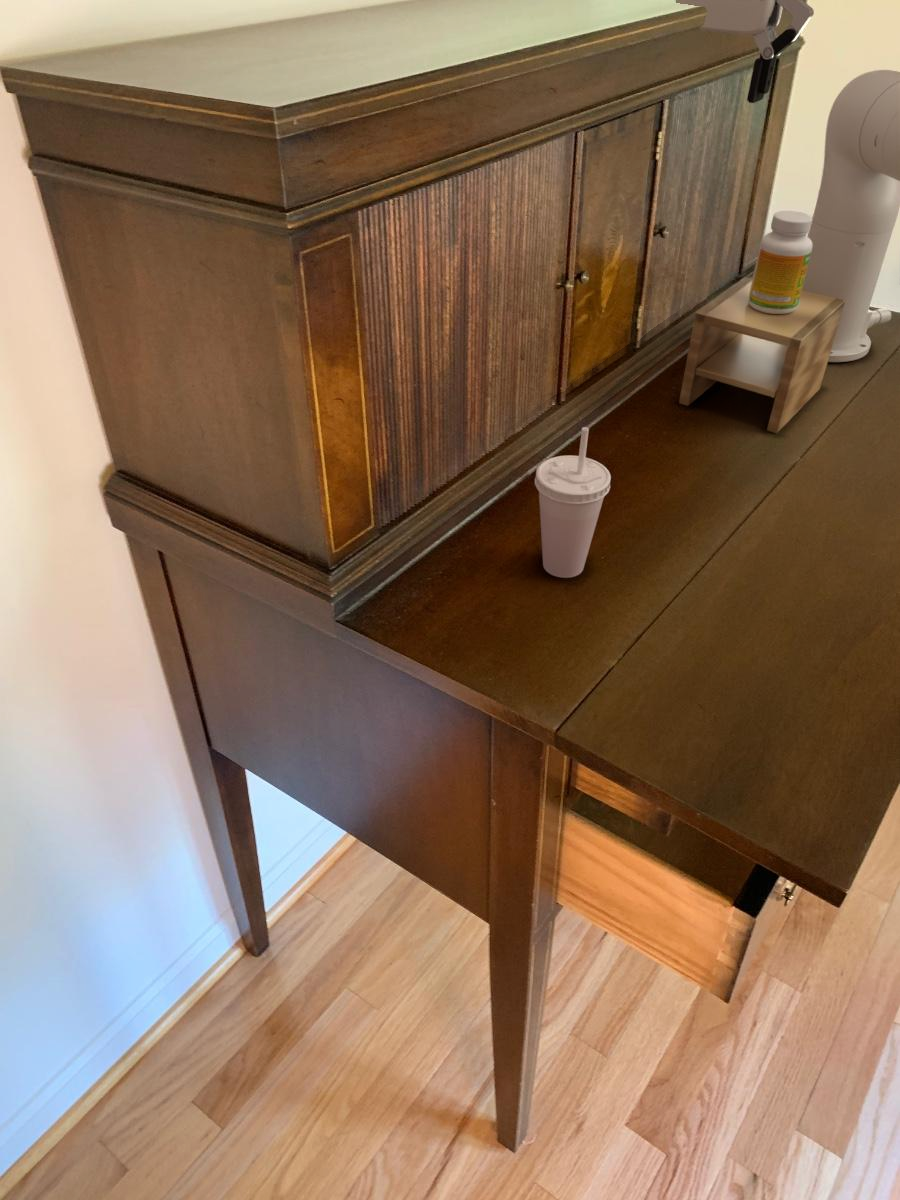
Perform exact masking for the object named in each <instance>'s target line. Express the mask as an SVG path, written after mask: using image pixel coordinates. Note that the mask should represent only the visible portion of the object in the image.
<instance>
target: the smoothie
mask: <svg viewBox="0 0 900 1200" xmlns="http://www.w3.org/2000/svg"><path fill="white" fill-rule="evenodd" d="M589 431H590V428H589V427H587V426H583V427H581V434H580V442H579V450H578V451H579V452H578V455H570V454H569V455H559V456H554V457H550V458H548V459H546V460H543V462H541V463H540V464H539V465H538V467H537V468H536V470H535V477H534V486H535V487H536V489H537V491H538V500H539V501H538V502H539V514H540V515H539V519H540V534H541V535H540V536H541V537H540V539H541V553H542V554H541V555H542V567H543V569H544V570H545V571H546V572H547V573H548V574H549V575H551V576H552V577H553V576H554V577H558V578H562V579H563V578H564V579H568V578H569V579H571V578H574V577H577V576H579V575H581V574H582V572H583V571H584V569H585V564H586V562H587V557H588V555H589V552H590V551H589V550H590V548H591V543H592V540H593V537H594V534H595V530H596V527H597V523H598V520H599V516H600V512H601V509H602V507H603V506H602V505H603V501H604V499H605V496H607V494H609V492H610V489H611V479H612V476H611V473H610V471H609V469H607V467H606V466H605V465H604V464H602V463H600V462H599V461H597V460H594V459H592V458H589V457H587V447H588V440H589V439H588V438H589Z"/></svg>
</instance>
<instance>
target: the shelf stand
mask: <svg viewBox="0 0 900 1200" xmlns="http://www.w3.org/2000/svg"><path fill="white" fill-rule="evenodd" d="M752 279H753V277H747V276H745V277H744V278H742V279H741V280H740V281H738V282H737V283H734V285H732V286H730V288H728V289H726V290H725V291H723V293H721V294H720V295H718V296H717V297H715V298H714V299H713V300H711V301H710V302H709V303H707V304H705V305H704V306H703V307H702V308H700V309H698V310H697V311H695V313H694V314H695V315H694V319H693V325H692V330H691V335H690V342H689V346H688V352H687V356H686V362H685V368H684V374H683V378H682V385H681V390H680V395H679V400H678V404H681V405H683V406H687V407H689V406H690V405H691V404H692V403H693V402H695V401H696V400H697V399H698V398H700V396H701V395H703V394H705V392H706V391H708V389H710V388H711V387H712V386H713V385H714V384H716V383H717V382H719V383H723V384H726V385H730V386H732V387H736V388H740V389H743V390H746V391H749V392H752V393H753V392H754V393H757V394H759V395H763V396H767V397H769V398H773V399H774V401H773V405H772V409H771V412H770V416H769V420H768V424H767V428H766V431H767V432H770V433H773V434H779V432H781V430H782V429H783V428H784V427H785V426H786V425H787V424H788V423H789V422H790V420H791V419H792V418H794V416H796V414H797V413H798V412H799V411H800V410H801V409H802V408H803V407H804V406H805V405H806V404H807V403H808V402H809V401H810V400H811V398H813V397H814V396H815V395H816V393H818V392H819V391H820V390H821V387H822V383H823V379H824V376H825V373H826V370H827V366H828V363H829V362H828V359H829V356H830V352H831V349H832V345H833V342H834V338H835V335H836V331H837V328H838V324H839V321H840V318H841V314H842V311H843V307H844V304H845V300H841V299H837V298H833V297H829V296H824V295H820V294H816V293H812V292H807V291H803V290H802V291H801V295H800V299H799V303H798V306H797V308H796V310H795V311H793V312H791V313H786V314H769V313H764V312H761V311H758V310H756V309H754V308H752V307H751V306H750V305H749V303H748V298H749V293H750V288H751V283H752Z"/></svg>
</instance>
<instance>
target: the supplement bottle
mask: <svg viewBox="0 0 900 1200" xmlns="http://www.w3.org/2000/svg"><path fill="white" fill-rule="evenodd" d="M771 219H772V220H771V223H770V230H772V231H770V232H768V233H766V234H765V235H764V236H762V238H761V241H760V244H759V247H758V252H757V257H756V260H755V266H754V271H753V274H752V278H753V279H752V283H751V288H750V293H749V298H748V303H749V305H750V306H751V307H752V308H754V309H756V310H758V311H761V312H764V313H769V314H786V313H791V312H793V311H795V310H796V308H797V306H798V303H799V299H800V295H801V291H802V287H803V283H804V279H805V275H806V271H807V267H808V263H809V259H810V255H811V252H812V246H813V245H812V241H811V239H810V238H808V237H807V236H808V233H809V231H810V228H811V224H812V216H811V215H810V214H808V213H805V212H801V211H794V210H780V211H776V212H775V213H773V216H772V218H771Z"/></svg>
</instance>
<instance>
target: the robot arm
mask: <svg viewBox="0 0 900 1200" xmlns="http://www.w3.org/2000/svg"><path fill="white" fill-rule="evenodd" d="M675 2H676V3H680V4H688V5H694V6H703V7H705V8H706V10H707V14H706V18H705V22H704V25H703V26H701V27H700V30H699V31H704V32H715V33H722V34H731V35H732V34H733V35H742V36H752V37H753V39H754V42H755V44H756V46H757V48H758V51H759V57H758V58H756V59H755V60H754V63H753V68H752V73H751V78H750V83H749V87H748V88H749V89H748V91H747V92H748V93H747V98H746V101H747V102H748V103H749V104H755V103H758V102H759V101H761V100H763V99H764V96H765V95H767V94H768V93H769V91H770V88H771V85H772V80H773V75H774V70H775V66H776V60H777V57H779V56H780V55H782V53H783V52H784V51H785V50H786V49H787V48H788V47H789V46H791V45H793V43H795V42H796V41H797V40H798V39H799V37H800V35H801V33H802V32H803V30H804V29H805V28H806V26H807V25H808V24H809V22H810V21H811V19H812V18H813V16H814V14H815V11H814V8H813V7H812V6H810V5H809V4H808V3H807V2H805V0H675ZM784 10H785V11H786V12H787V13H789V14H790V16H791V21H790V23H789V24H788V26H787V28H786V29H785V30H784V31H783V32H781V33H780V34H779V35H778V33H777V31H776V29H775V28H776V27H778V26H779V23H780V21H781V18H782V14H783V11H784ZM828 113H829V114H828V117H827V122H826V125H825V126H826V127H825V134H824V148H823V161H822V168H821V169H822V170H821V176H820V181H819V186H818V191H817V196H816V200H815V204H814V208H813V212H812V216H811V217H812V224H811V228H810V231H809V233H808V234H807V235H806V236H807V237H808V238H810V239H811V241H812V245H813V246H812V252H811V255H810V259H809V263H808V267H807V271H806V275H805V279H804V283H803V287H802V290H803V291H807V292H812V293H816V294H820V295H824V296H829V297H833V298H837V299H841V300H845V304H844V307H843V311H842V314H841V318H840V321H839V324H838V328H837V331H836V335H835V338H834V342H833V345H832V349H831V352H830V356H829V359H828V362H827V363H846V362H852V361H853V362H854V361H856V360H859V359H861V358H864V357H865V356H866V355H868V353H869V351H870V348H871V345H872V341H871V338H870V336H869V335H868V334H867V332H868V329H871V328H872V327H873V326H877V325H882V324H886V323H889V322H890V321H891V319H892V312H891V310H890V309H889V308H887V307H883V308H880V309H879V308H878V309H874V310H870V305H871V302H872V299H873V296H874V293H875V290H876V286H877V283H878V280H879V277H880V273H881V270H882V267H883V263H884V261H885V258H886V253H887V251H888V247H889V245H890V240H891V237H892V234H893V230H894V228H895V225H896V223H897V219H898V215H899V212H900V71H897V70H892V69H875V70H869V71H867V72H864V73H862V74H859V75H858V76H856V77H854V78H853V79H851V80H850V81H849V82H848V83H847V84H845V86H844V87H843V88H842V89H841V90H840V91H839V92H838V94H837V96H836V97H835V99H834V101H833V104H832V105H831V108H830V110H829V112H828Z"/></svg>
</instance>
